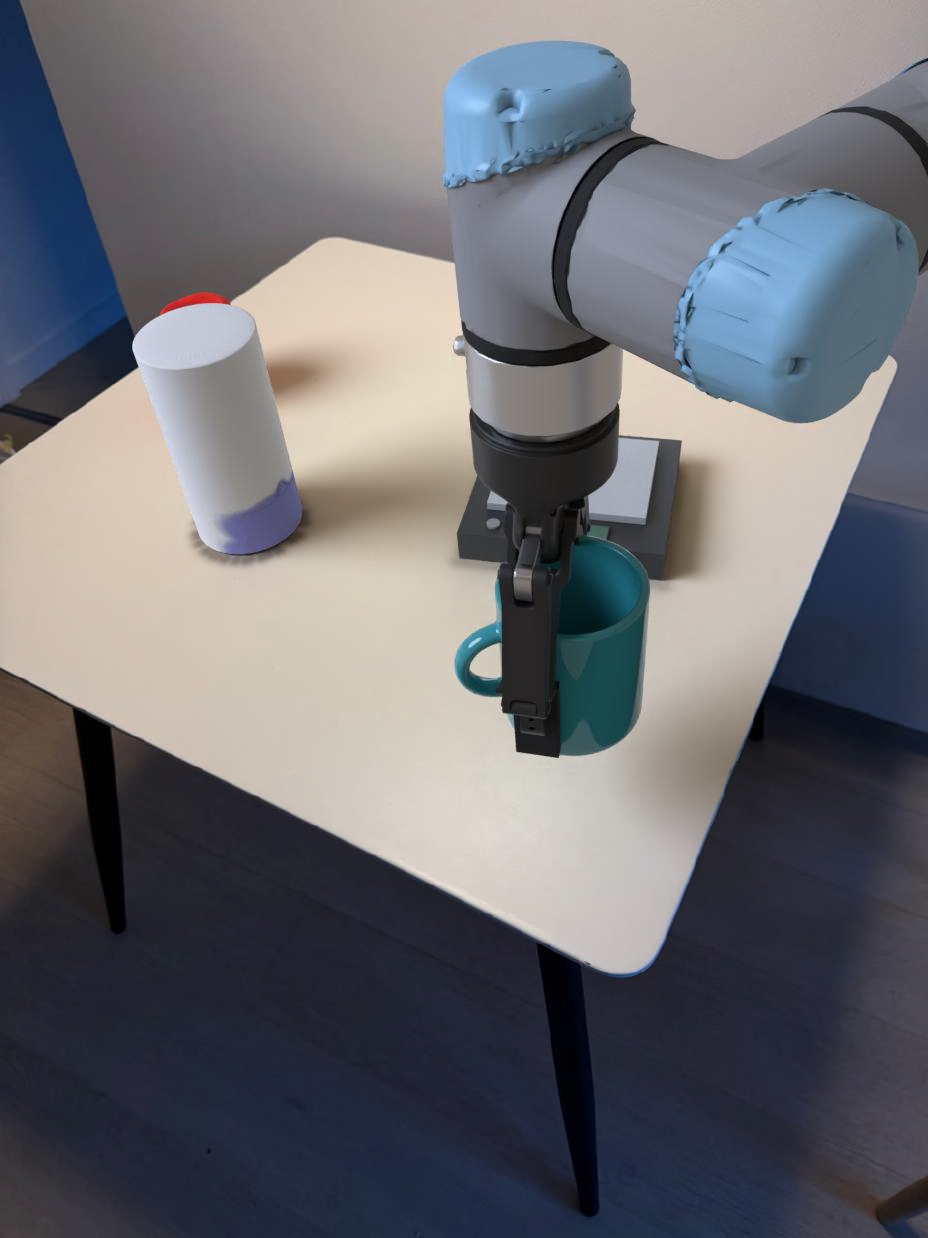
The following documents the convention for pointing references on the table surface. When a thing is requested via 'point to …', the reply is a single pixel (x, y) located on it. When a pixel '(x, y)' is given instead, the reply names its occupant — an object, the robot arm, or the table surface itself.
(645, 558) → the scale
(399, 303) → the table surface
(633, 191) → the robot arm
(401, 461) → the table surface
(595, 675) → the cup
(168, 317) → the container
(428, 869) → the table surface
